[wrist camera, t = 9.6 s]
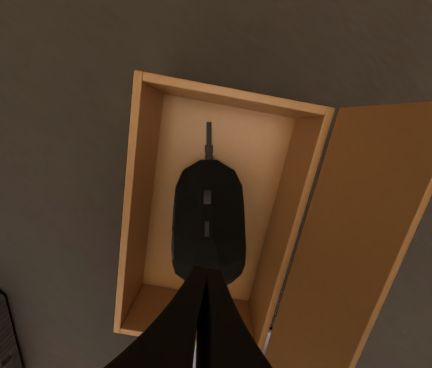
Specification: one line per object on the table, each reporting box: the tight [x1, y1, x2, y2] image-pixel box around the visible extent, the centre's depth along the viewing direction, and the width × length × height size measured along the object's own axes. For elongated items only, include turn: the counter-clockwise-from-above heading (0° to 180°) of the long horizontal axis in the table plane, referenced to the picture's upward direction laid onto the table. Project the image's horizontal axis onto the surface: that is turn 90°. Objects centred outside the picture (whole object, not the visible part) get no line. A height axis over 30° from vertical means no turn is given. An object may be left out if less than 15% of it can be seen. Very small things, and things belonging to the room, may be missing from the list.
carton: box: [113, 70, 335, 351], centre depth 17 cm, size 18×12×6 cm, turn 170°
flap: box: [264, 101, 432, 368], centre depth 12 cm, size 18×6×1 cm
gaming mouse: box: [171, 122, 246, 285], centre depth 18 cm, size 6×15×4 cm, turn 0°
